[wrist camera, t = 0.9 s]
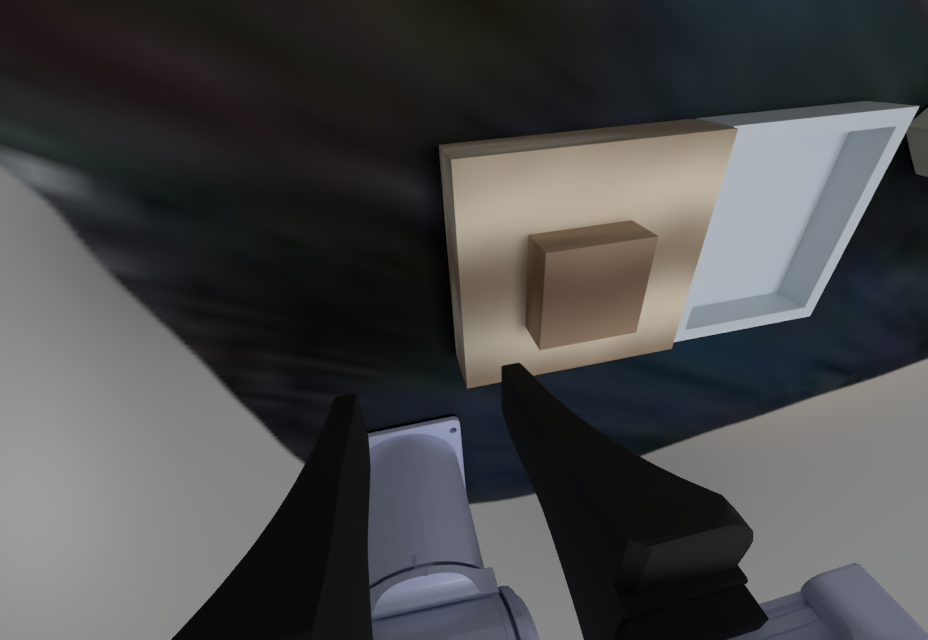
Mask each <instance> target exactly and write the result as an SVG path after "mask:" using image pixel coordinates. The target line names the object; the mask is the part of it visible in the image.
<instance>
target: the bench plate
mask: <svg viewBox="0 0 928 640" xmlns="http://www.w3.org/2000/svg"><path fill="white" fill-rule="evenodd" d="M737 131H738V128H734V127H729V126H724V125H719V124H714V123H709V122H704V121H699V120H694V119H685V120H676V121H666V122H656V123H646V124H637V125H627V126H617V127H608V128H598V129H588V130H578V131H569V132H559V133H549V134H539V135H530V136H520V137H510V138H501V139H491V140H481V141H471V142H462V143H452V144H442V145H439V157H440V168H441V180H442V192H443V204H444V215H445V227H446V239H447V251H448V262H449V274H450V286H451V297H452V309H453V321H454V333H455V344H456V355H457V358H458V362H459V365H460V368H461V371H462V374H463V377H464V380H465V383H466V386H467V388H472V387H477V386H482V385H487V384H492V383H497V382H501V366H503V365H508V364H514V363H520V364H522V365H523V366H524V367H525V368H526V369H527V370H528V371H529V372H530V373H531V374H532V375H539V374H544V373H549V372H554V371H559V370H564V369H569V368H575V367H580V366H585V365H590V364H595V363H600V362H605V361H611V360H616V359H621V358H626V357H631V356H636V355H641V354H646V353H652V352H657V351H662V350H667V349H672V345H673V342H674V339H675V335H676V332H677V329H678V326H679V322H680V319H681V316H682V312H683V309H684V306H685V302H686V299H687V296H688V293H689V289H690V286H691V283H692V279H693V276H694V273H695V269H696V266H697V263H698V260H699V256H700V253H701V250H702V246H703V243H704V240H705V237H706V233H707V230H708V227H709V223H710V220H711V217H712V213H713V210H714V207H715V204H716V200H717V197H718V194H719V190H720V187H721V184H722V180H723V177H724V174H725V171H726V167H727V164H728V161H729V157H730V154H731V151H732V147H733V144H734V141H735V138H736V134H737ZM630 220H633V221H634V222H636V223H638V224H639V225H641V226H642V227H644V228H646V229H647V230H649V231H651V232H652V233H654V234H656V235H657V236H659V237H658V241H657V246H656V250H655V254H654V259H653V263H652V267H651V272H650V276H649V280H648V284H647V289H646V293H645V297H644V302H643V306H642V310H641V314H640V319H639V323H638V327H637V332H636V333H630V334H625V335H620V336H614V337H609V338H603V339H598V340H593V341H587V342H582V343H576V344H571V345H566V346H560V347H555V348H550V349H544V350H539V348H538V347H537V345H536V343H535V342H534V340H533V339H532V337H531V335H530V334H529V332H528V330H527V329H526V327H525V324H526V298H527V272H528V246H529V235H531V234H538V233H545V232H552V231H559V230H566V229H574V228H581V227H588V226H595V225H602V224H609V223H616V222H623V221H630Z"/></svg>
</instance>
